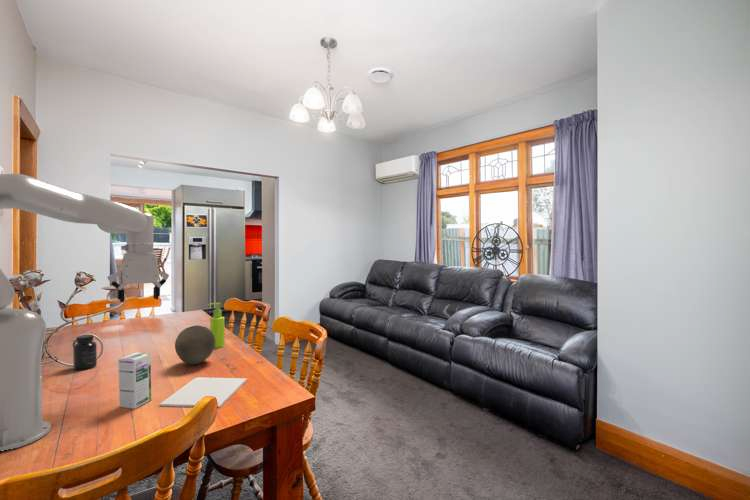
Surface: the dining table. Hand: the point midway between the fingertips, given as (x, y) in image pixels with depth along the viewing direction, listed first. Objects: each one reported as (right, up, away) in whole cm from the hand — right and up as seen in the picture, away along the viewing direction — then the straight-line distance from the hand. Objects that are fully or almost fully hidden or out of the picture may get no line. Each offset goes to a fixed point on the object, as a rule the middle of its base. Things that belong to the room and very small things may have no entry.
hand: (139, 300), depth 117 cm
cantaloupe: (+9, -28, +19) cm, 35 cm away
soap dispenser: (+7, -28, +42) cm, 51 cm away
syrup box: (+8, -29, -14) cm, 33 cm away
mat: (+25, -29, -5) cm, 39 cm away
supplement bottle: (-30, -28, +14) cm, 44 cm away
